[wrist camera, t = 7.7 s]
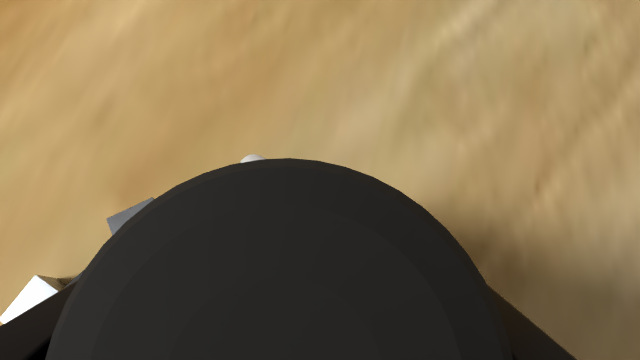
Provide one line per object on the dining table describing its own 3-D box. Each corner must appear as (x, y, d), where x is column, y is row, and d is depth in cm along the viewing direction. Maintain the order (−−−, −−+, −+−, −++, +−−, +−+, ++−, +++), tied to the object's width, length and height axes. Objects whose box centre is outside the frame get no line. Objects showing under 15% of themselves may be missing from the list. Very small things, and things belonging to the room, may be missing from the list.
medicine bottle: (273, 212, 18) (200, 15, 7) (437, 311, 17) (687, 279, 6) (161, 383, 16) (-209, 519, 5) (338, 506, 15) (409, 1063, 4)
